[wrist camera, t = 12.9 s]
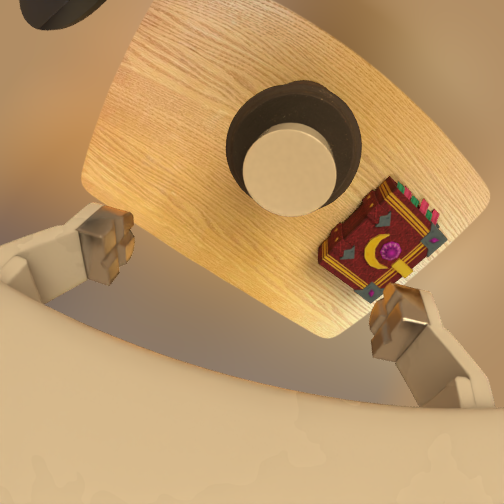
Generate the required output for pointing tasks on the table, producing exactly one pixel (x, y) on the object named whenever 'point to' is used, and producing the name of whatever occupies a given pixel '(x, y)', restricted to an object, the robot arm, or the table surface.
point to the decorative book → (381, 240)
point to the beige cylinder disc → (290, 170)
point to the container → (303, 112)
